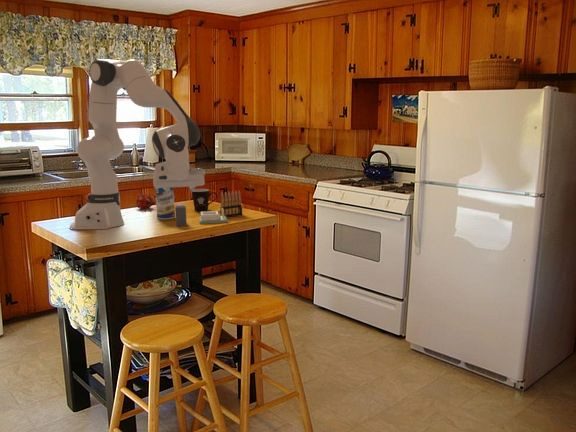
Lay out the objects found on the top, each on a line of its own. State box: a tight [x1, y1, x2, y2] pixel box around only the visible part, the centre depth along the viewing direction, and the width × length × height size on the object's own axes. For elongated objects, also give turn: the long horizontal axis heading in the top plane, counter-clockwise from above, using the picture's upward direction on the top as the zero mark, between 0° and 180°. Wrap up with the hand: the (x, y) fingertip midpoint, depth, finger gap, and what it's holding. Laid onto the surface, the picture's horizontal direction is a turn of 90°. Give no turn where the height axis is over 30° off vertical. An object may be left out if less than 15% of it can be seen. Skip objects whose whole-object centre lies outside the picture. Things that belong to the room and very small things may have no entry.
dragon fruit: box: [135, 192, 156, 211], centre depth 281 cm, size 8×8×12 cm
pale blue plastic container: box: [198, 208, 228, 225], centre depth 249 cm, size 12×10×5 cm
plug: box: [174, 203, 188, 227], centre depth 242 cm, size 4×4×9 cm
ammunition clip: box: [219, 190, 243, 218], centre depth 259 cm, size 11×2×12 cm, turn 123°
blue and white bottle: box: [154, 187, 176, 221], centre depth 256 cm, size 8×8×20 cm
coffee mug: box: [191, 188, 218, 212], centre depth 274 cm, size 12×9×10 cm
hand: (179, 190), depth 227 cm, fingers open, 8 cm apart
